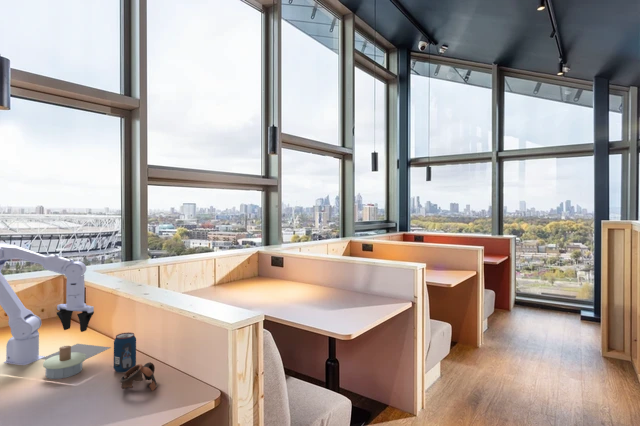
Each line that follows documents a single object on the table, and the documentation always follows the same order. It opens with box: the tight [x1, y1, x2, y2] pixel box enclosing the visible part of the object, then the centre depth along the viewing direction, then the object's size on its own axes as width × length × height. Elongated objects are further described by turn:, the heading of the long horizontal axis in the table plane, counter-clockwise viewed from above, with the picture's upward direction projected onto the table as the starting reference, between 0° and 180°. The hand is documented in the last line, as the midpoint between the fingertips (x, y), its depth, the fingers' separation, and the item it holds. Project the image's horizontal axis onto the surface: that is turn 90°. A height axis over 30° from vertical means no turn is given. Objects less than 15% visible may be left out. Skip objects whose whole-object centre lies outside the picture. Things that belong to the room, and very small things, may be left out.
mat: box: [40, 343, 112, 361], centre depth 144 cm, size 16×16×1 cm
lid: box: [42, 345, 87, 369], centre depth 128 cm, size 12×12×5 cm
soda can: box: [113, 332, 137, 374], centre depth 131 cm, size 7×7×12 cm
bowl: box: [44, 362, 83, 380], centre depth 128 cm, size 10×10×4 cm
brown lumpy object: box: [119, 361, 158, 392], centre depth 119 cm, size 12×10×8 cm
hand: (75, 330), depth 142 cm, fingers open, 7 cm apart
